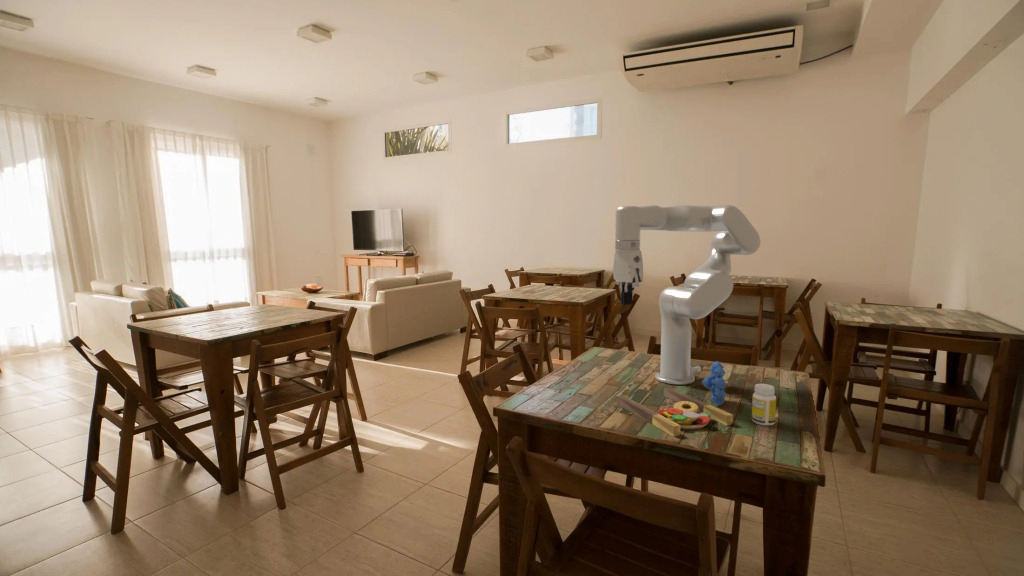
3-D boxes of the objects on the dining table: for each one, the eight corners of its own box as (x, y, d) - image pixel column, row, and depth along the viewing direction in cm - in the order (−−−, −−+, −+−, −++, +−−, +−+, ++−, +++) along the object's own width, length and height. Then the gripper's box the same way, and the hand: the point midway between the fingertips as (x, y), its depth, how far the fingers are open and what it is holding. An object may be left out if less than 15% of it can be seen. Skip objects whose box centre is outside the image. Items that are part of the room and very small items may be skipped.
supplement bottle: (771, 418, 125) (773, 383, 124) (778, 426, 120) (779, 390, 119) (749, 417, 126) (750, 382, 125) (754, 425, 121) (756, 388, 120)
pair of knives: (669, 395, 144) (669, 387, 144) (732, 424, 122) (732, 414, 121) (616, 404, 137) (616, 396, 137) (673, 436, 115) (673, 426, 114)
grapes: (698, 395, 144) (699, 356, 143) (721, 396, 142) (723, 357, 141) (704, 408, 133) (705, 367, 131) (729, 410, 131) (731, 368, 130)
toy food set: (689, 409, 133) (689, 398, 132) (722, 427, 120) (723, 415, 120) (647, 415, 129) (648, 404, 129) (678, 434, 116) (678, 422, 116)
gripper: (652, 246, 142) (651, 306, 144) (623, 245, 155) (622, 300, 157) (632, 246, 139) (631, 308, 141) (604, 246, 153) (603, 302, 155)
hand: (626, 304), depth 149 cm, fingers closed
